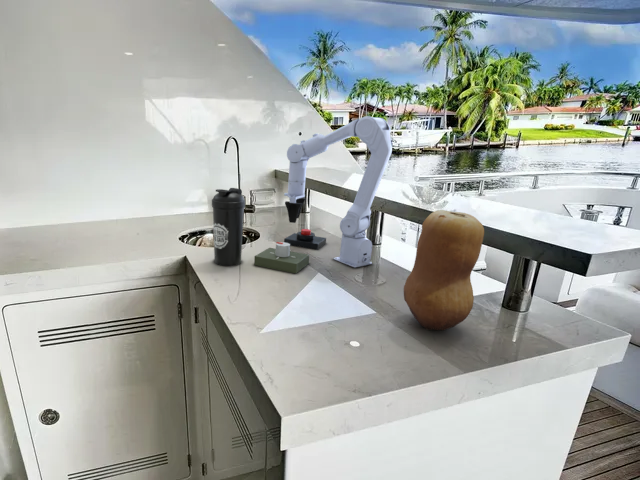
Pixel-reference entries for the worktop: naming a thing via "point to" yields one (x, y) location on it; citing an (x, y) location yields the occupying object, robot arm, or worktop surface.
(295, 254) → the dial panel
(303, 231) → the button
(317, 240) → the button housing
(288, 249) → the knob
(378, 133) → the robot arm
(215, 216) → the water bottle
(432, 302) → the butternut squash
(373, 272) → the worktop surface
